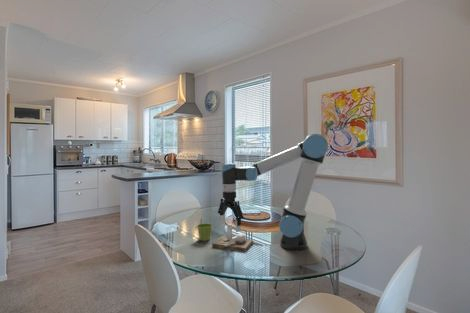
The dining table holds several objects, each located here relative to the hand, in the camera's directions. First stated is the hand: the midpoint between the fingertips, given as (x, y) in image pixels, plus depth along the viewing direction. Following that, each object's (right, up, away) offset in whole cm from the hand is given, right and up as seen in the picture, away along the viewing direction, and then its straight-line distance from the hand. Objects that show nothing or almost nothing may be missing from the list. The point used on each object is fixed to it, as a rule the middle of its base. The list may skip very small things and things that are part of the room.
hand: (230, 228), depth 151 cm
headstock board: (+1, -11, +5) cm, 12 cm away
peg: (+2, -9, +3) cm, 9 cm away
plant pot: (-16, -11, +15) cm, 25 cm away
